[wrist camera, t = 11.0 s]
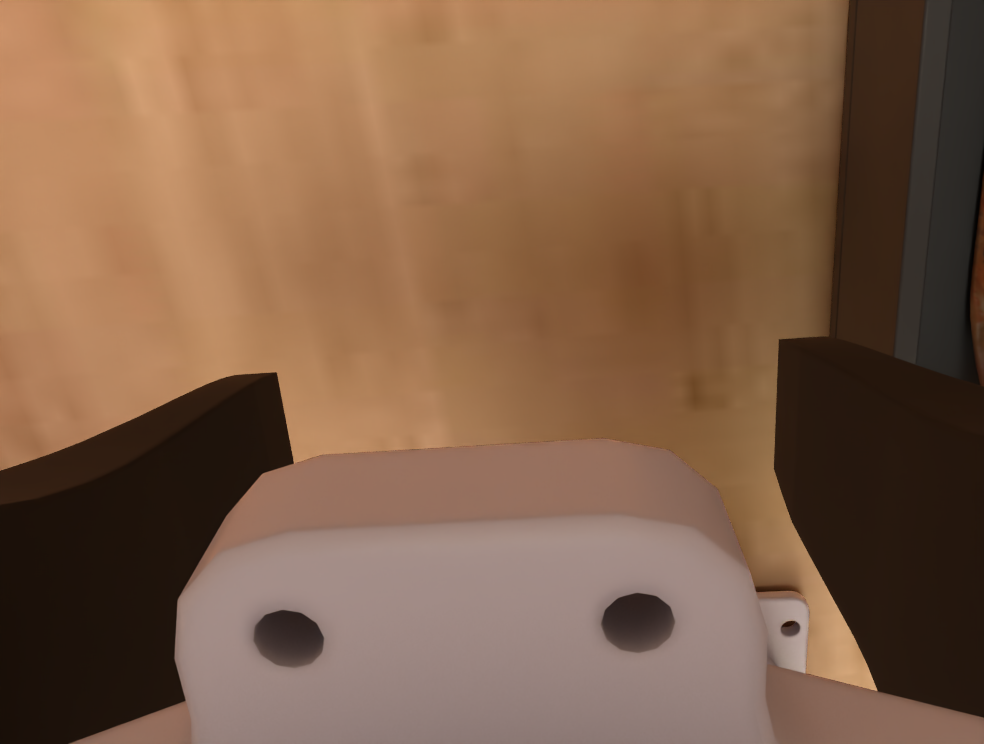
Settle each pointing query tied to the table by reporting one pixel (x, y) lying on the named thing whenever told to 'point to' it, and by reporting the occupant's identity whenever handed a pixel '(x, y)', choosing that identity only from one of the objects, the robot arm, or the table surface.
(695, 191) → the table surface
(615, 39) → the table surface
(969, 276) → the bin
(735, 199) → the table surface
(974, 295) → the tin
